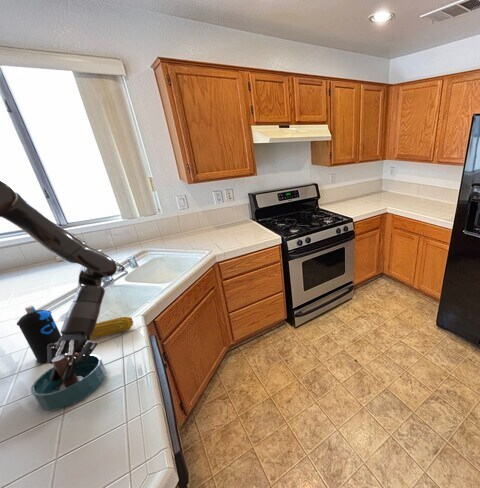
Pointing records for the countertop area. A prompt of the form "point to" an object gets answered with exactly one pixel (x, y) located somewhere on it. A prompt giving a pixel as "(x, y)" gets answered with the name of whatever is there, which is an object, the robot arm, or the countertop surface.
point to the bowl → (55, 398)
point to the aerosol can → (39, 331)
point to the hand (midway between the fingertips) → (60, 379)
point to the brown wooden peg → (60, 366)
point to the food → (112, 326)
